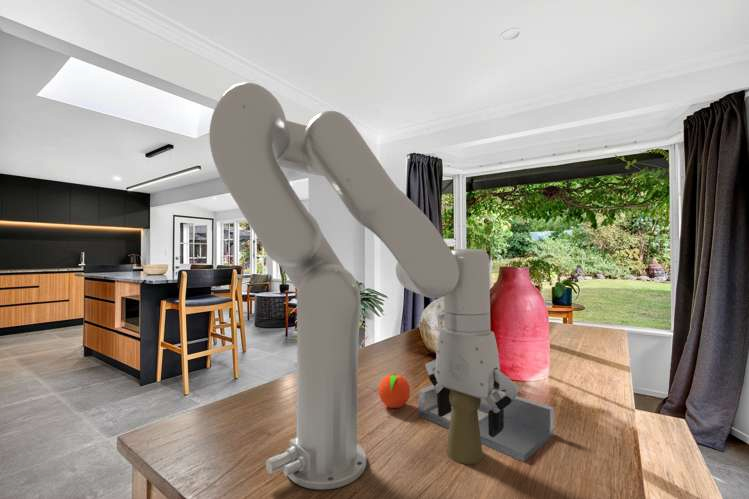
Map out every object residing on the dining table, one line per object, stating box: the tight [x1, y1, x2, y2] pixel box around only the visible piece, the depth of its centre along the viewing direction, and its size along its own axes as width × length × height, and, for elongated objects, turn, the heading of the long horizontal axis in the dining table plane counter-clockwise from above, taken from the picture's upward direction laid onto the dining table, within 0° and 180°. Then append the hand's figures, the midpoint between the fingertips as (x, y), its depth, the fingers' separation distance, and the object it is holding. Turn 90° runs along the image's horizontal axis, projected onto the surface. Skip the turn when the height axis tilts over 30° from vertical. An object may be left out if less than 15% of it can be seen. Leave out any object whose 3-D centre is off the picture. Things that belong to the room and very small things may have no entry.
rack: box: [417, 384, 555, 463], centre depth 70 cm, size 13×22×5 cm, turn 44°
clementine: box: [378, 373, 411, 409], centre depth 77 cm, size 8×7×7 cm
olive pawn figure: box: [445, 390, 484, 465], centre depth 60 cm, size 6×6×11 cm
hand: (468, 423), depth 60 cm, fingers open, 9 cm apart
